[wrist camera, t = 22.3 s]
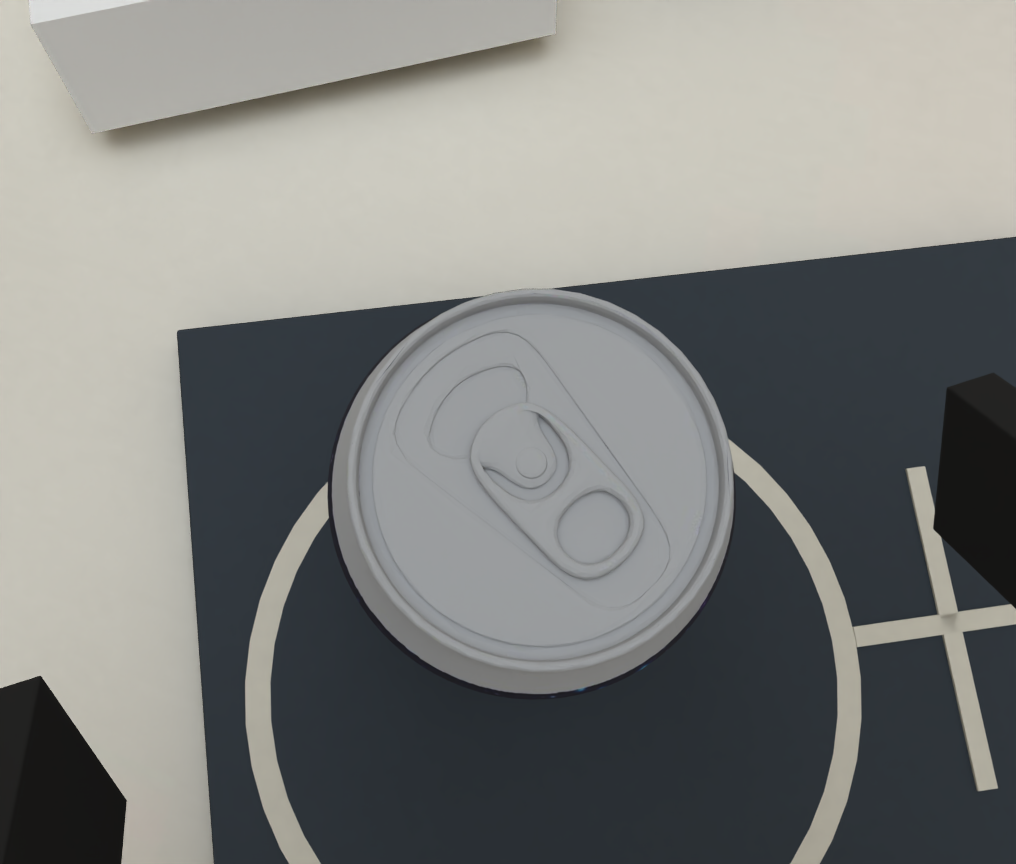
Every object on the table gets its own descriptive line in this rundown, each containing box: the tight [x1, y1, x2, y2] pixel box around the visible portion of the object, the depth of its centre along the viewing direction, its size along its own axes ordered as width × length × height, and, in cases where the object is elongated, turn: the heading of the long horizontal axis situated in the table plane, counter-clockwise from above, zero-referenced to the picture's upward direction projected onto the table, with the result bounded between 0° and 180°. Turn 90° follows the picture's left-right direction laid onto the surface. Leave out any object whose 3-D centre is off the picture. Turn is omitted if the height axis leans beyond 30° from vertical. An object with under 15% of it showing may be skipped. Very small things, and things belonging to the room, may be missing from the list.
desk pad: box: [177, 237, 1016, 864], centre depth 24 cm, size 24×20×1 cm
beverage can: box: [327, 289, 736, 700], centre depth 18 cm, size 6×6×12 cm
